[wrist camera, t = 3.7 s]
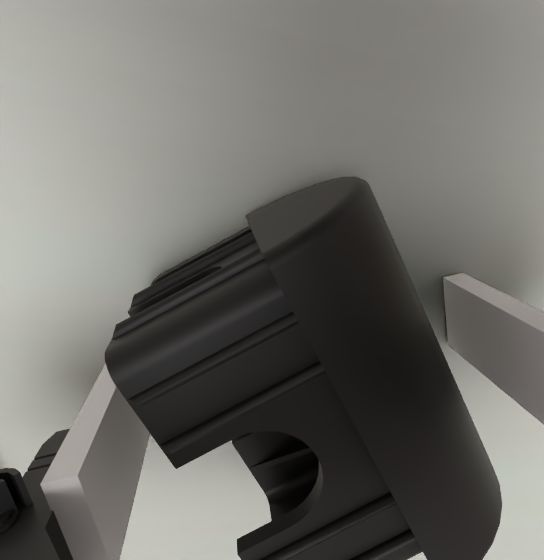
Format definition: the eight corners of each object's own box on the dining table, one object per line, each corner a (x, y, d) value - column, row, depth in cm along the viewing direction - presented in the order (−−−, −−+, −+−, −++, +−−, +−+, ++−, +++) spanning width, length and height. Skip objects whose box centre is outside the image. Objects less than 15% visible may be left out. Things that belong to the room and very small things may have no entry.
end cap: (432, 399, 18) (557, 541, 11) (274, 482, 18) (305, 668, 11) (325, 168, 15) (408, 178, 8) (137, 269, 15) (75, 357, 8)
